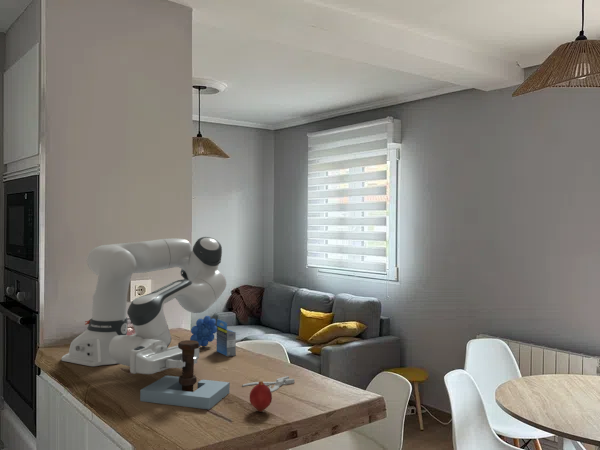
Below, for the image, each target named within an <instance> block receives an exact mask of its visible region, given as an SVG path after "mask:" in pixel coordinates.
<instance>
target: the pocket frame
mask: <svg viewBox="0 0 600 450" xmlns="http://www.w3.org/2000/svg"><path fill="white" fill-rule="evenodd" d="M179 377H180V376H173V375H164V376H163V377H161V378H159V379H158V380H156V381H153V382H152V383H150V384H148V385H146V386H145V387H142V388H141V389H140V393H139V394H140V396H139V398H140V399H139V401H140V402H146V403H153V404H161V405H170V406H178V407H187V408H194V409H201V410H211V409H212V408H213V407H214V406H215V405H216V404H218V403H219V402H220V401H222V398H223V399H224V398H226V396H228V395H229V394H230V390H231V389H230V387H231V386H230V382H229V381H228V382H227V381H221V380H210V379H209V380H208V379H201V380H198V382H197V387H196V388H197V389H195V390H193V392H189V391H182V385H180V383H179ZM227 394H228V395H227Z"/></svg>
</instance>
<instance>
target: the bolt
mask: <svg viewBox="0 0 600 450" xmlns="http://www.w3.org/2000/svg"><path fill="white" fill-rule="evenodd" d="M177 345H178V348H180V349H181V350H182V356H183V358H182V360H183V361H185V367H183V368H181V369H182V370H181V372H182V373H181V375H180V376H178V377H179V383H180V385H182V391H189V392H194V385H196V384H197V383H198V382H197V380H198V379H197V376H196V375H194V373H195V372H194V371H195V369H194V367H195V364H194V353H195V349H197V348H199V349H200V347H199V343H198V342H197V341H194V340H190V339H189V340H187V339H186V340H181V341H179V342H178V343H177Z"/></svg>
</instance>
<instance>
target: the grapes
mask: <svg viewBox="0 0 600 450" xmlns="http://www.w3.org/2000/svg"><path fill="white" fill-rule="evenodd" d="M190 333H191V336H190V338H189V340H194V341H197V342H198V343H199V348H200V347H201V346H206V347H207V346H208V345H209V342H211V343H212V342H213V341H214V340H215V334H217V320H216V318H211V316H210V315H205V316H204V317H203V318H198V319H197V320H196V322H195V325H193V326H192V327H191V329H190Z"/></svg>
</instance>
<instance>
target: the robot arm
mask: <svg viewBox="0 0 600 450" xmlns="http://www.w3.org/2000/svg"><path fill="white" fill-rule="evenodd" d="M87 254H88V255H87V258H86V263H87V266H88V268H89V269H90V270H91V272H92V273H93V274H95V275H96V276H98V278H97V283H96V286H95V290H94V293H93V295H92V309H91V311H92V312H91V313H92V314H91V315H92V316H91V317H92V318H90V319H89V320H85V321H84V322H85V323H84V325H87V329H85V331H83V332H82V333H81V334H80V335H78V336H77V337H75V338H74V339H72V341H71V343H70V346H69V349H68V353H66V354H64V355H63V356H62V357H61V362H68V363H72V364H76V365H77V364H78V365H83V366H88V367H98V366H107V365H115V364H120V365H122V366H127V367H129V371H130V374H135V375H136V374H141V375H153V374H156V373H158V372H159V373H160V372H163V371H166V370H168V369H182V368H183V367H185V361H183V360H182V358H183V356H182V350H181V349H180V348H178V344H177V345H173V346H170V345H171V342H172V334H171V331H170V328H169V325H168V323H167V320H166V316H165V313H164V305H165V304H166V303H168V302H170V301H172V300H174V299H176V301H177V302H178V304H179V305H180V307H181V308H182V309H184V311H185V310H186V311H187V312H189V313H193V314H201V313H204V312H205V311H207V310H208V309H209V308H210V307H212V305H213V304H214V303H216V302H217V300H219V298H220V297H221V296H222V295H223V293H224V291H225V290H226V287H227V279H226V277H225V275H224V274H223V273H222V272H221V271H220V270H219V265H220V264H221V262H222V254H223V249H222V245H221V243H220V242H219V241H218V240H217V239H215V238H213V237H210V236H203V237H200V238H198V239H197V240H196V242H195V243H194V244H193V245H192V243H191V242H190V241H188V240H187V239H186V238H178V237H177V238H175V237H174V238H171V237H170V238H160V239H154V240H153V239H151V240H145V241H135V242H133V241H132V242H125V243H124V242H123V243H112V244H102V245H99V246H96V247H94V248H92V249H91V250H90V251H89V253H87ZM173 268H179V269H181V270H180V276H181V277H182V278H183V279H179V280H178V279H177V280H176V281H172V282H170V283H168V284H166V285H164V286H162V287H160V288H158V289H156V290H154V291H152V292H150V293H147V294H144V295H142V296H139V297H137V298H135V299H133V300H132V301H131V303H130V305H129V306H128V308H127V303H128V292H129V288H130V287H129V286H130V284H131V278H132V275H133V274H141V273H143V274H144V273H150V272H151V273H152V272H157V271H162V270H168V269H173ZM127 316H128V317H127ZM128 318H129V320H130V322H131V324H132V326H133V329H134V333H133V334H128ZM127 334H128V335H127ZM169 346H170V347H169ZM199 359H200V347H199V348H197V349H195V353H194V365H196V364H198V360H199Z"/></svg>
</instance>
